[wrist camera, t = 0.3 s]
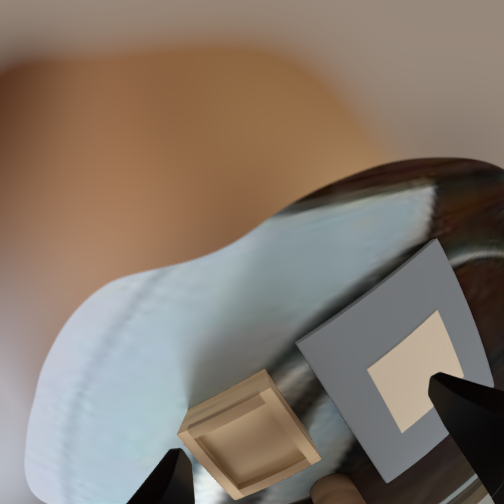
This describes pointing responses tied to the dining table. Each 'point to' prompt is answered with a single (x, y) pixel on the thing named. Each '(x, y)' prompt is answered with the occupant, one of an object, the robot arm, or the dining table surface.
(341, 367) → the grey rectangular plate
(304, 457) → the oak socket block
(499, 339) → the dining table surface
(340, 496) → the walnut peg
